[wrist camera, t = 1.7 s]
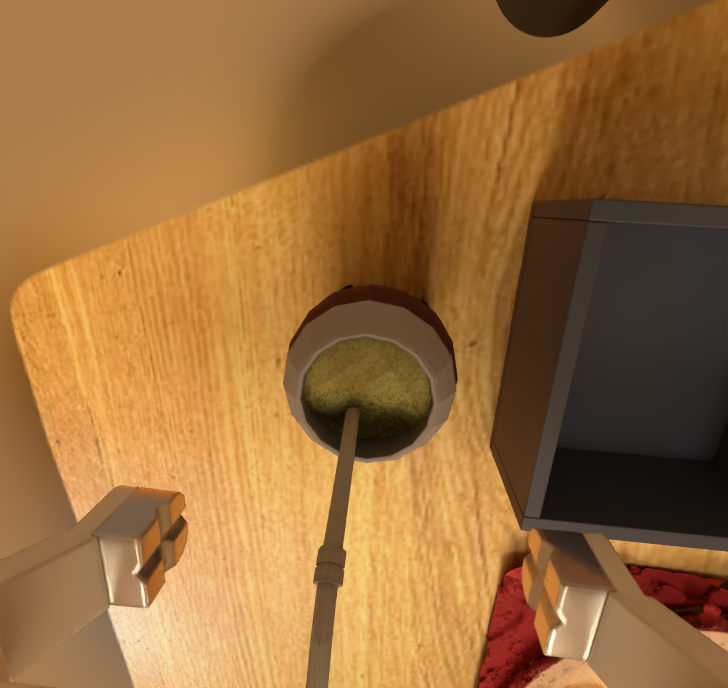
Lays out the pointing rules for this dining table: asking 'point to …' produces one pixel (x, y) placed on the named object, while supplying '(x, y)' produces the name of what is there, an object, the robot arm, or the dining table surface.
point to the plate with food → (575, 677)
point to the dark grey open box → (619, 373)
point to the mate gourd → (364, 408)
